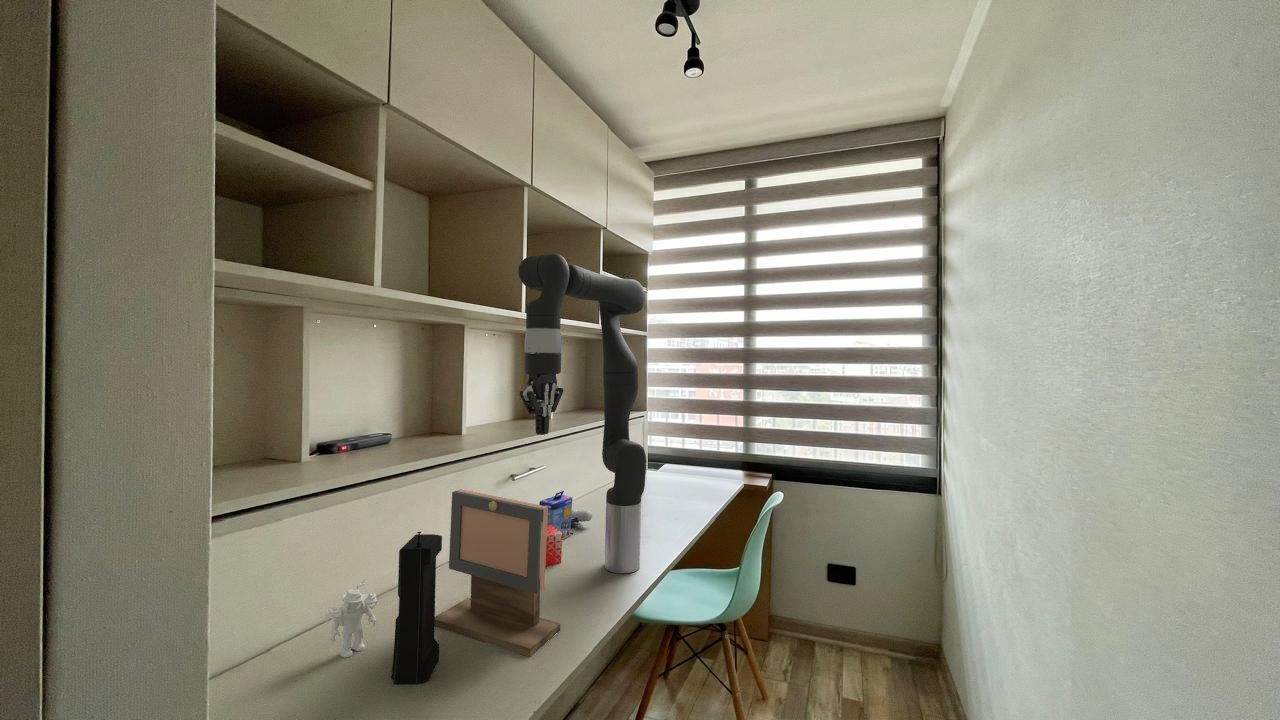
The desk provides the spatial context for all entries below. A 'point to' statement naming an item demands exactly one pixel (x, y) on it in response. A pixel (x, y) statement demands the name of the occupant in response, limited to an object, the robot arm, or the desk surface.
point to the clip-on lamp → (579, 517)
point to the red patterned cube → (553, 546)
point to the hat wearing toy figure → (351, 619)
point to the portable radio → (416, 611)
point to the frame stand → (500, 617)
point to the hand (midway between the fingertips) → (542, 434)
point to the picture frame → (499, 539)
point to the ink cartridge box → (559, 513)
